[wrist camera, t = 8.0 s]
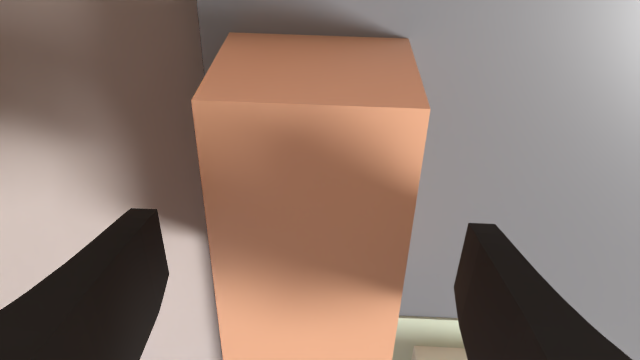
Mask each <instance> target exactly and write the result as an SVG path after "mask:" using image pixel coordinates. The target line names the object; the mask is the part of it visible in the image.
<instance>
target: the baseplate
mask: <svg viewBox="0 0 640 360" xmlns="http://www.w3.org/2000/svg"><path fill="white" fill-rule="evenodd" d="M197 10H198V19H199V29H200V38H201V48H202V57H203V67H204V77H205V75H206V73H207V71H208V69H209V68H210V66H211V64H212V62H213V61H214V59H215V57H216V55H217V53H218V52H219V50H220V48H221V46H222V45H223V43H224V41H225V39H226V38H227V36H228V34H229V32H234V33H263V34H292V35H320V36H349V37H378V38H407V39H409V41H410V45H411V48H412V51H413V54H414V57H415V61H416V64H417V67H418V70H419V74H420V77H421V80H422V83H423V86H424V90H425V93H426V96H427V99H428V102H429V106H430V109H431V110H430V116H429V123H428V129H427V136H426V142H425V149H424V155H423V162H422V168H421V175H420V181H419V188H418V194H417V201H416V207H415V214H414V220H413V227H412V233H411V240H410V246H409V253H408V260H407V266H406V273H405V279H404V286H403V292H402V299H401V305H400V312H399V318H398V325H397V331H396V338H395V344H394V351H393V357H392V360H411V359H412V354H413V349H414V346H430V347H449V348H464V344H463V340H462V336H461V332H460V329H459V323H458V316H457V310H456V302H455V294H454V283H455V279H456V275H457V270H458V266H459V261H460V257H461V253H462V248H463V244H464V240H465V235H466V231H467V227H468V223H485V224H496V225H497V227H498V228H499V229H500V230H501V231H502V232H503V233H504V234H505V236H506V237H507V238H508V239H509V240H510V241H511V242H512V244H513V245H514V246H515V247H516V248H517V249H518V250H519V252H520V253H521V254H522V255H523V256H524V257H525V258H526V259H527V261H528V262H529V263H530V264H531V265H532V266H533V267H534V268H535V269H536V271H537V272H538V273H539V274H540V275H541V276H542V277H543V278H544V279H545V280H546V281H547V282H548V283H549V284H550V285H551V286H552V288H553V289H554V290H555V291H556V292H557V293H558V294H559V295H560V296H561V297H562V298H563V299H564V300H565V301H566V302H567V303H568V304H569V305H571V306H572V307H573V308H574V309H575V310H576V311H577V312H578V313H579V314H580V315H581V316H582V317H583V318H584V319H585V320H586V321H587V322H589V323H590V324H591V325H592V326H593V327H594V328H595V329H596V330H598V331H599V332H600V333H601V334H602V335H603V336H604V337H606V338H607V339H608V340H609V341H611V342H612V343H613V344H614V345H615V346H617V347H618V348H619V349H620V350H621V351H623V352H624V353H625V354H626V355H628V356H629V357H630V358H631V359H632V360H640V0H197Z"/></svg>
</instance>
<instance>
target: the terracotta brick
mask: <svg viewBox="0 0 640 360" xmlns="http://www.w3.org/2000/svg"><path fill="white" fill-rule="evenodd" d="M191 103H192V111H193V119H194V127H195V135H196V143H197V152H198V160H199V168H200V176H201V184H202V192H203V201H204V209H205V217H206V225H207V233H208V241H209V249H210V258H211V266H212V274H213V282H214V290H215V298H216V307H217V315H218V323H219V331H220V339H221V347H222V355H223V360H392V357H393V351H394V344H395V338H396V331H397V325H398V318H399V312H400V305H401V299H402V292H403V286H404V279H405V273H406V266H407V260H408V253H409V246H410V240H411V233H412V227H413V220H414V214H415V207H416V201H417V194H418V188H419V181H420V175H421V168H422V162H423V155H424V149H425V142H426V136H427V129H428V123H429V116H430V110H431V109H430V106H429V102H428V99H427V96H426V93H425V90H424V86H423V83H422V80H421V77H420V74H419V70H418V67H417V64H416V61H415V57H414V54H413V51H412V48H411V45H410V41H409V39H407V38H378V37H349V36H320V35H292V34H263V33H234V32H229V34H228V36H227V38H226V39H225V41H224V43H223V45H222V46H221V48H220V50H219V52H218V53H217V55H216V57H215V59H214V61H213V62H212V64H211V66H210V68H209V69H208V71H207V73H206V75H205V77H204V78H203V80H202V82H201V84H200V85H199V87H198V89H197V91H196V93H195V94H194V96H193V98H192V100H191Z"/></svg>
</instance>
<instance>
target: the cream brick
mask: <svg viewBox="0 0 640 360" xmlns="http://www.w3.org/2000/svg"><path fill="white" fill-rule="evenodd" d="M411 360H468V359H467V355H466V351H465V348H449V347H430V346H414V349H413V354H412V359H411Z"/></svg>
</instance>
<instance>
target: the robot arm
mask: <svg viewBox="0 0 640 360" xmlns="http://www.w3.org/2000/svg"><path fill="white" fill-rule="evenodd" d="M168 276H169V271H168V266H167V260H166V255H165V250H164V244H163V239H162V234H161V228H160V223H159V218H158V212H157V209H135V208H131V209H130V210H128V211H127V212H126V213H125V214H123V215H122V216H121V217H120V218H119V219H117V220H116V221H115V222H114V223H113V224H112V225H110V226H109V227H108V228H107V229H106V230H105V231H103V232H102V233H101V234H100V235H99V236H97V237H96V238H95V239H94V240H93V241H92V242H90V243H89V244H88V245H87V246H85V247H84V248H83V249H82V250H81V251H79V252H78V253H77V254H76V255H75V256H73V257H72V258H71V259H70V260H69V261H67V262H66V263H65V264H64V265H62V266H61V267H60V268H58V269H57V270H56V271H54V272H53V273H52V274H50V275H49V276H48V277H46V278H45V279H44V280H42V281H41V282H40V283H38V284H37V285H36V286H34V287H33V288H32V289H30V290H29V291H28V292H26V293H25V294H23V295H22V296H21V297H19V298H18V299H16V300H15V301H13V302H12V303H10V304H9V305H7V306H6V307H4V308H3V309H1V310H0V360H140V357H141V355H142V352H143V350H144V348H145V345H146V343H147V341H148V338H149V336H150V333H151V331H152V328H153V326H154V323H155V321H156V318H157V316H158V313H159V310H160V307H161V303H162V300H163V296H164V292H165V288H166V284H167V280H168ZM454 294H455V302H456V310H457V316H458V323H459V329H460V332H461V336H462V340H463V344H464V348H465V351H466V355H467V359H468V360H632V359H631V358H630V357H629V356H628V355H626V354H625V353H624V352H623V351H621V350H620V349H619V348H618V347H617V346H615V345H614V344H613V343H612V342H611V341H609V340H608V339H607V338H606V337H604V336H603V335H602V334H601V333H600V332H599V331H598V330H596V329H595V328H594V327H593V326H592V325H591V324H590V323H589V322H587V321H586V320H585V319H584V318H583V317H582V316H581V315H580V314H579V313H578V312H577V311H576V310H575V309H574V308H573V307H572V306H571V305H569V304H568V303H567V302H566V301H565V300H564V299H563V298H562V297H561V296H560V295H559V294H558V293H557V292H556V291H555V290H554V289H553V288H552V286H551V285H550V284H549V283H548V282H547V281H546V280H545V279H544V278H543V277H542V276H541V275H540V274H539V273H538V272H537V271H536V269H535V268H534V267H533V266H532V265H531V264H530V263H529V262H528V261H527V259H526V258H525V257H524V256H523V255H522V254H521V253H520V252H519V250H518V249H517V248H516V247H515V246H514V245H513V244H512V242H511V241H510V240H509V239H508V238H507V237H506V236H505V234H504V233H503V232H502V231H501V230H500V229H499V228H498V227H497V225H496V224H485V223H468V227H467V231H466V235H465V240H464V244H463V248H462V253H461V257H460V261H459V266H458V270H457V275H456V279H455V283H454Z"/></svg>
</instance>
